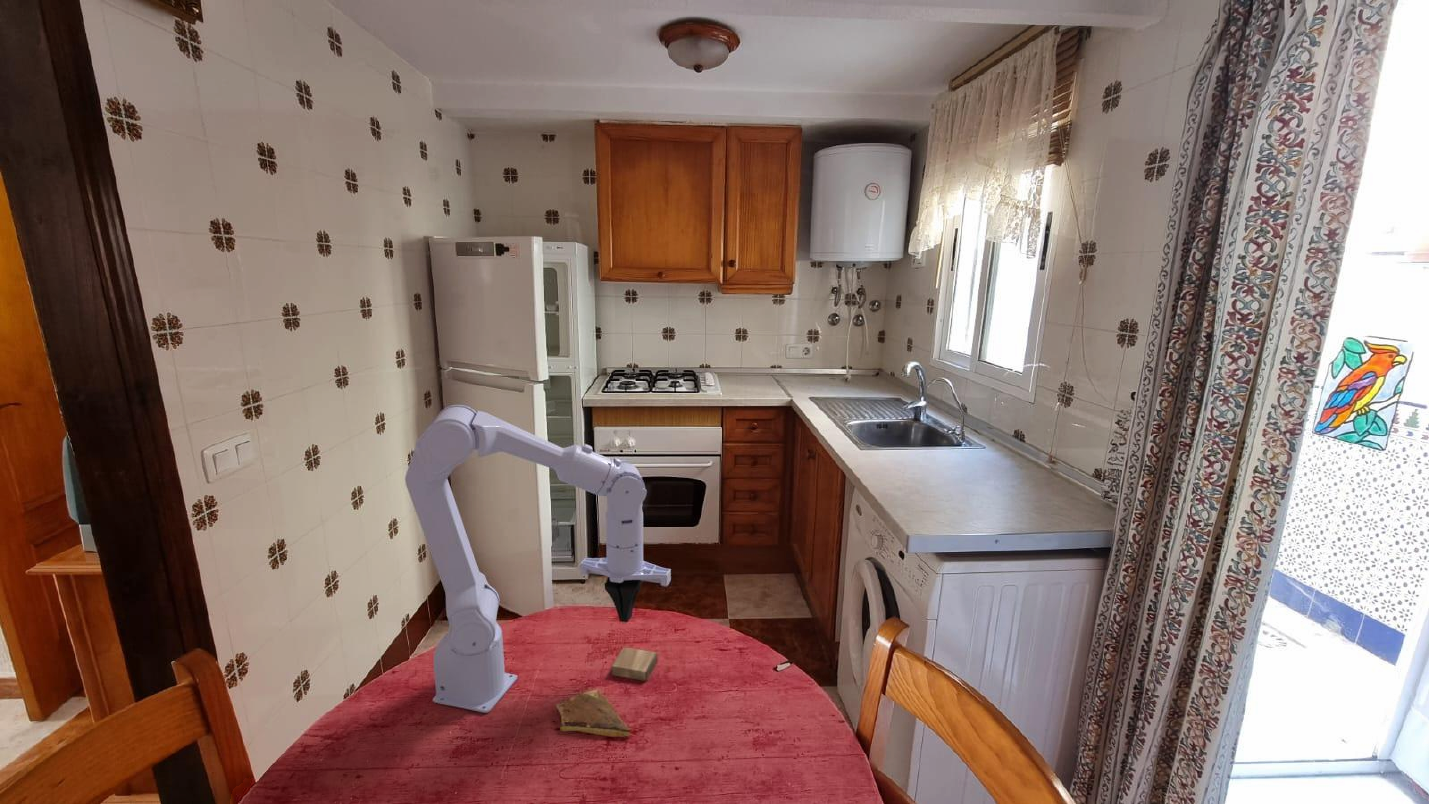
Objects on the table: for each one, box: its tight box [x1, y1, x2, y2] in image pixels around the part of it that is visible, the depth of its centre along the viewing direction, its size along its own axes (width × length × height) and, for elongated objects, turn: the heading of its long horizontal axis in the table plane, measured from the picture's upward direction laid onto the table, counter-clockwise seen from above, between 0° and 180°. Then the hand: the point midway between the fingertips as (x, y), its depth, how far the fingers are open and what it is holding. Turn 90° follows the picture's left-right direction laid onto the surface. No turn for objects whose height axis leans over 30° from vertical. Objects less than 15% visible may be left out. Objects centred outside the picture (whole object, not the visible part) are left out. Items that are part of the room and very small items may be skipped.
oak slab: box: [611, 646, 659, 682], centre depth 93 cm, size 2×5×6 cm
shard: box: [555, 689, 632, 738], centre depth 81 cm, size 11×8×2 cm
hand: (625, 618), depth 92 cm, fingers closed
